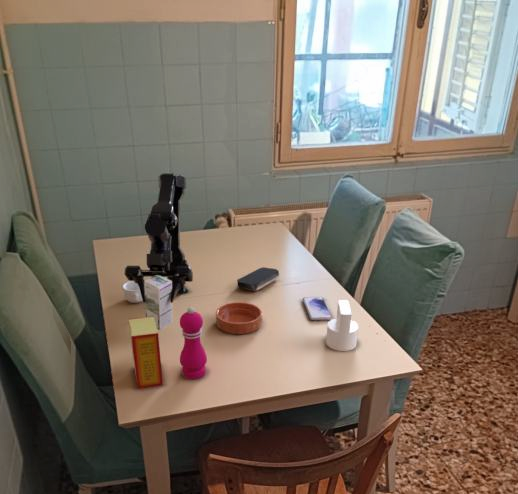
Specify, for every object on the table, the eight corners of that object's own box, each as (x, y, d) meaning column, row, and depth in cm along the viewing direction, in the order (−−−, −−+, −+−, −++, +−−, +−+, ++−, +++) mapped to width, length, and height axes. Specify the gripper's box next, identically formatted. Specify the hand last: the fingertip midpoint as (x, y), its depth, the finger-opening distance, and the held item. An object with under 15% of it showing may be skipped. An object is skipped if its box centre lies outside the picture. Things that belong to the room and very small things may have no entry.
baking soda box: (134, 368, 155) (128, 317, 147) (158, 365, 157) (153, 314, 149) (137, 388, 148) (131, 335, 139) (162, 385, 149) (158, 332, 141)
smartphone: (322, 296, 193) (332, 317, 180) (322, 299, 193) (332, 320, 181) (302, 297, 192) (310, 318, 179) (301, 299, 193) (310, 320, 180)
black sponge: (254, 295, 195) (254, 285, 193) (234, 288, 199) (234, 278, 198) (281, 279, 207) (281, 270, 205) (262, 273, 211) (262, 264, 209)
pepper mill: (196, 383, 150) (193, 317, 140) (175, 374, 153) (170, 309, 143) (212, 370, 155) (210, 305, 145) (191, 362, 159) (188, 298, 148)
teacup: (123, 296, 193) (121, 282, 190) (145, 293, 195) (144, 279, 192) (126, 309, 185) (124, 294, 182) (150, 306, 187) (148, 292, 184)
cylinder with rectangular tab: (324, 334, 173) (327, 299, 167) (354, 335, 173) (358, 300, 166) (326, 350, 165) (330, 314, 159) (357, 351, 165) (362, 315, 159)
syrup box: (173, 322, 168) (173, 280, 159) (159, 331, 164) (158, 287, 155) (158, 315, 170) (158, 273, 162) (144, 323, 166) (143, 280, 158)
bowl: (209, 318, 180) (208, 307, 178) (248, 309, 186) (248, 298, 184) (228, 339, 170) (228, 327, 168) (269, 328, 176) (270, 317, 173)
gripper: (122, 238, 157) (118, 292, 153) (189, 239, 157) (187, 293, 153) (130, 254, 167) (127, 304, 164) (193, 255, 167) (191, 305, 164)
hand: (157, 302), depth 161 cm, fingers closed on syrup box, 7 cm apart
